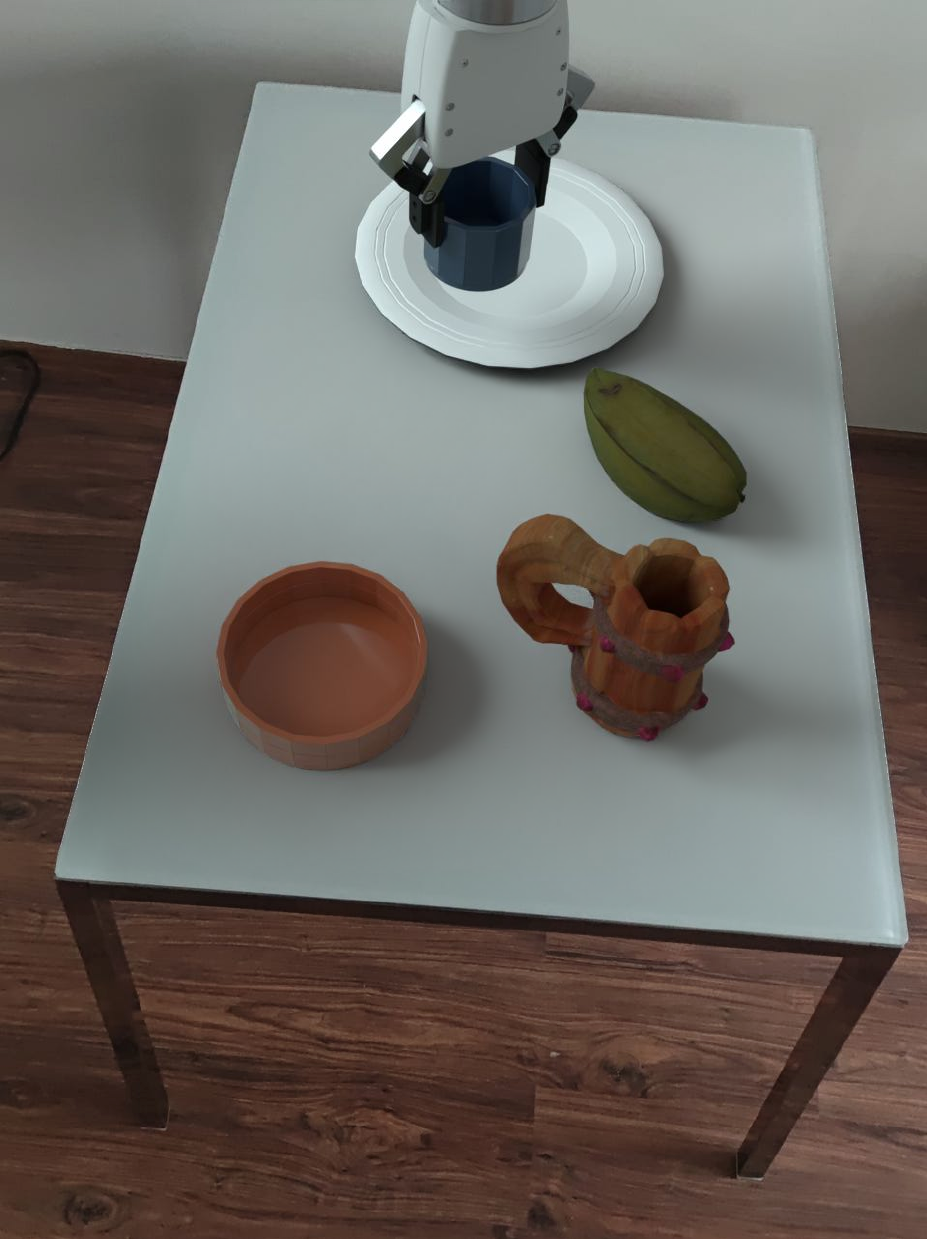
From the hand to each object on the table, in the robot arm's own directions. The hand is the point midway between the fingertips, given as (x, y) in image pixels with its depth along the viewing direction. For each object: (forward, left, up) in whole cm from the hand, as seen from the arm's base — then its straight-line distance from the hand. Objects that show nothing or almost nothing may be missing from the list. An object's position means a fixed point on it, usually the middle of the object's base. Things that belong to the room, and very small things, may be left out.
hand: (478, 213), depth 85 cm
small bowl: (0, 0, -4) cm, 4 cm away
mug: (-9, -30, -12) cm, 34 cm away
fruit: (+5, -18, -12) cm, 22 cm away
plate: (+7, +5, -12) cm, 15 cm away
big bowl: (-24, -21, -12) cm, 34 cm away
